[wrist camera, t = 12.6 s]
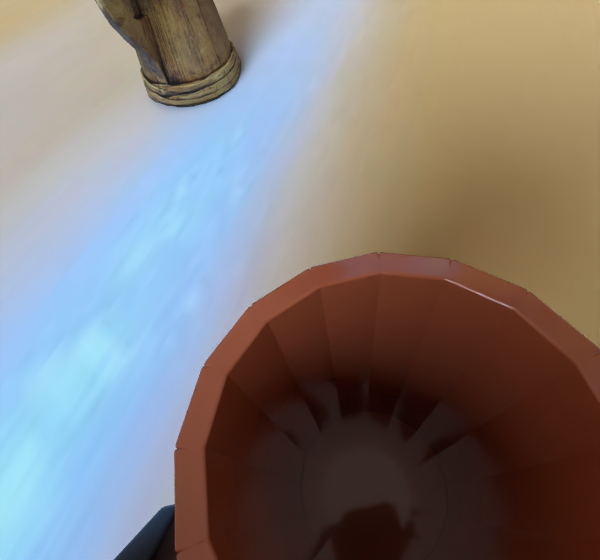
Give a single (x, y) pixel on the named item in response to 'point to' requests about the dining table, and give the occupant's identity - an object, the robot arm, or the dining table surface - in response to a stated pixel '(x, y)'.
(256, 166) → the dining table surface
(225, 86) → the wooden mug
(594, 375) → the pot
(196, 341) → the dining table surface
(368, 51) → the dining table surface
